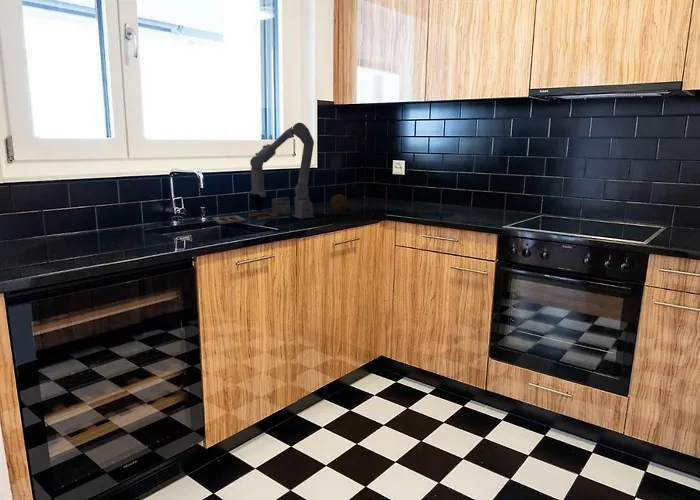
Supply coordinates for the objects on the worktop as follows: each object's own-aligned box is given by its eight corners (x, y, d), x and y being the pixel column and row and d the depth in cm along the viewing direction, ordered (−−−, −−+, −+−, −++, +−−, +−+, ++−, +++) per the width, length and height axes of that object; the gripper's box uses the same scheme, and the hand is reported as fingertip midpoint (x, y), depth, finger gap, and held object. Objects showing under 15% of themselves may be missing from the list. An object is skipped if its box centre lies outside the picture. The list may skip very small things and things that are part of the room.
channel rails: (278, 218, 237) (278, 215, 236) (258, 220, 232) (258, 217, 231) (268, 214, 248) (268, 212, 247) (248, 216, 243) (248, 213, 242)
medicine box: (276, 217, 240) (275, 199, 238) (272, 216, 244) (271, 198, 242) (290, 215, 245) (290, 197, 243) (285, 214, 248) (285, 197, 246)
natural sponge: (345, 212, 254) (345, 192, 251) (351, 215, 245) (350, 194, 243) (328, 213, 251) (328, 193, 249) (333, 216, 243) (333, 195, 240)
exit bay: (289, 217, 240) (289, 216, 239) (279, 218, 237) (279, 217, 237) (279, 213, 250) (279, 212, 250) (269, 214, 248) (269, 213, 248)
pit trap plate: (245, 221, 229) (245, 219, 229) (220, 224, 223) (219, 221, 223) (236, 217, 240) (236, 215, 239) (212, 219, 234) (211, 217, 234)
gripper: (244, 181, 239) (246, 209, 242) (254, 183, 227) (256, 213, 230) (258, 180, 242) (259, 208, 245) (269, 182, 230) (270, 211, 233)
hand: (259, 210), depth 238 cm, fingers closed
